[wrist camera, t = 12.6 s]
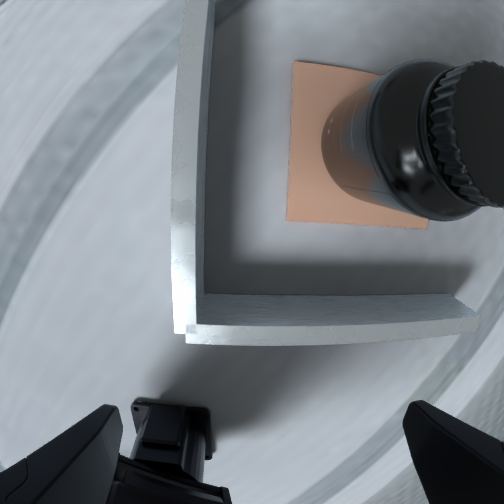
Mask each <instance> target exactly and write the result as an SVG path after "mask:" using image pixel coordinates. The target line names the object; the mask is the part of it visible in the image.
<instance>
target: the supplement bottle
mask: <svg viewBox="0 0 504 504" xmlns="http://www.w3.org/2000/svg"><path fill="white" fill-rule="evenodd" d="M321 151H322V157H323V161H324V164H325V167H326V169H327V171H328V173H329V175H330V176H331V178H332V179H333V181H334V182H335V183H336V184H337V185H338V186H339V187H340V188H341V189H342V190H343V191H344V192H346V193H347V194H349V195H350V196H352V197H354V198H356V199H359V200H361V201H365V202H368V203H371V204H375V205H379V206H382V207H386V208H390V209H393V210H397V211H400V212H404V213H408V214H411V215H414V216H418V217H421V218H425V219H429V220H434V221H454V220H459V219H462V218H464V217H467V216H469V215H471V214H472V213H474V212H475V211H477V210H478V209H479V208H481V207H482V206H491V207H497V208H498V207H501V208H504V67H503V66H498V65H497V64H496V63H494V62H487V61H485V60H481V61H478V62H470V63H467V64H465V65H462V66H459V67H455V66H453V65H451V64H448V63H445V62H442V61H438V60H433V59H417V60H411V61H408V62H405V63H403V64H401V65H399V66H397V67H395V68H393V69H392V70H390V71H388V72H387V73H385V74H383V75H382V76H380V77H379V78H377V79H376V80H374V81H372V82H371V83H369V84H368V85H366V86H365V87H363V88H362V89H360V90H359V91H357V92H356V93H354V94H353V95H351V96H350V97H348V98H347V99H345V100H344V101H342V102H341V103H340V104H339V105H337V106H336V107H335V108H334V110H333V111H332V112H331V113H330V115H329V116H328V118H327V120H326V122H325V124H324V127H323V131H322V136H321Z"/></svg>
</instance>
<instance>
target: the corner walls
mask: <svg viewBox="0 0 504 504" xmlns="http://www.w3.org/2000/svg"><path fill="white" fill-rule="evenodd" d="M215 15H216V12H215V5H214V0H185V7H184V14H183V22H182V30H181V39H180V48H179V58H178V69H177V80H176V93H175V107H174V124H173V144H172V174H171V263H172V293H173V314H174V331H175V333H181V334H186V343H190V344H212V345H248V346H297V345H333V344H354V343H371V342H385V341H398V340H409V339H419V338H429V337H438V336H446V335H454V334H462V333H469V332H476V331H477V328H478V325H479V322H480V318H481V315H479V314H478V313H476V312H475V311H474V310H472V309H471V308H469V307H468V306H466V305H465V304H463V303H462V302H460V301H459V300H457V299H456V298H454V297H453V296H451V295H450V294H448V293H442V294H411V295H356V296H298V295H240V294H208V293H204V216H205V176H206V149H207V127H208V108H209V91H210V76H211V62H212V49H213V37H214V26H215Z"/></svg>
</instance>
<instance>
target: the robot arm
mask: <svg viewBox="0 0 504 504" xmlns="http://www.w3.org/2000/svg"><path fill="white" fill-rule="evenodd" d="M136 407H138V408H136ZM131 412H132V416H133V421H134V425H135V429H136V433H137V437H136V440H135V443H134V446H133V449H132V452H131V456H130V458H127V457H125V456H122V455H120V453H119V448H120V443H121V438H122V433H123V425H122V421H121V417H120V413H119V410H118V408H117V406H114V405H108V404H104V405H102V406H100V407H99V408H98V409H96V410H95V411H93V412H92V413H90V414H89V415H88V416H86V417H85V418H83V419H82V420H80V421H79V422H77V423H76V424H75V425H73V426H72V427H70V428H69V429H67V430H66V431H64V432H63V433H61V434H60V435H58V436H57V437H55V438H54V439H52V440H51V441H49V442H48V443H47V444H45V445H44V446H42V447H41V448H39V449H37V450H36V451H34V452H33V453H31V454H30V455H28V456H27V459H26V458H24V459H22V460H21V461H19V462H17V463H16V464H14V465H13V466H11V467H9V468H8V469H6V470H4V471H2V472H0V504H232V501H231V497H230V494H229V490H228V488H226V487H217V486H213V485H209V484H205V483H203V472H204V460H211V459H212V437H211V416H210V410H209V409H207V408H201V407H185V406H172V405H162V404H152V403H143V402H133V403H132V405H131ZM202 413H205V414H202ZM403 429H404V432H405V436H406V439H407V443H408V446H409V450H410V454H411V457H412V460H413V463H414V466H415V469H416V471H417V474H418V476H419V479H420V481H421V484H422V486H423V489H424V491H425V494H426V496H427V499H428V502H429V504H504V442H502V441H500V440H498V439H496V438H494V437H492V436H490V435H488V434H486V433H484V432H482V431H480V430H478V429H476V428H474V427H472V426H470V425H469V424H467V423H465V422H463V421H461V420H459V419H457V418H455V417H453V416H451V415H449V414H447V413H446V412H444V411H442V410H440V409H438V408H436V407H434V406H432V405H431V404H429V403H427V402H425V401H423V400H418V401H413V402H411V403H410V404H409V406H408V409H407V411H406V414H405V416H404V419H403Z"/></svg>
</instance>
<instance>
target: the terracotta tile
mask: <svg viewBox="0 0 504 504" xmlns="http://www.w3.org/2000/svg"><path fill="white" fill-rule="evenodd" d="M380 76H382V75H377V74H373V73H368V72H363V71H358V70H352V69H347V68H341V67H335V66H328V65H321V64H314V63H306V62H297V61H294V62H293V64H292V91H291V121H290V146H289V168H288V187H287V205H286V220H287V221H297V222H318V223H337V224H355V225H371V226H387V227H401V228H415V229H427V228H428V220H429V219H425V218H421V217H418V216H414V215H411V214H408V213H404V212H400V211H397V210H393V209H390V208H386V207H382V206H379V205H375V204H371V203H368V202H365V201H361V200H359V199H356V198H354V197H352V196H350V195H349V194H347V193H346V192H344V191H343V190H342V189H341V188H340V187H339V186H338V185H337V184H336V183H335V182H334V181H333V179H332V178H331V176H330V175H329V173H328V171H327V169H326V167H325V164H324V161H323V157H322V151H321V136H322V131H323V127H324V124H325V122H326V120H327V118H328V116H329V115H330V113H331V112H332V111H333V110H334V108H335V107H336V106H337V105H339V104H340V103H341V102H342V101H344V100H345V99H347V98H348V97H350V96H351V95H353V94H354V93H356V92H357V91H359V90H360V89H362V88H363V87H365V86H366V85H368V84H369V83H371V82H372V81H374V80H376V79H377V78H379V77H380Z"/></svg>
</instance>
